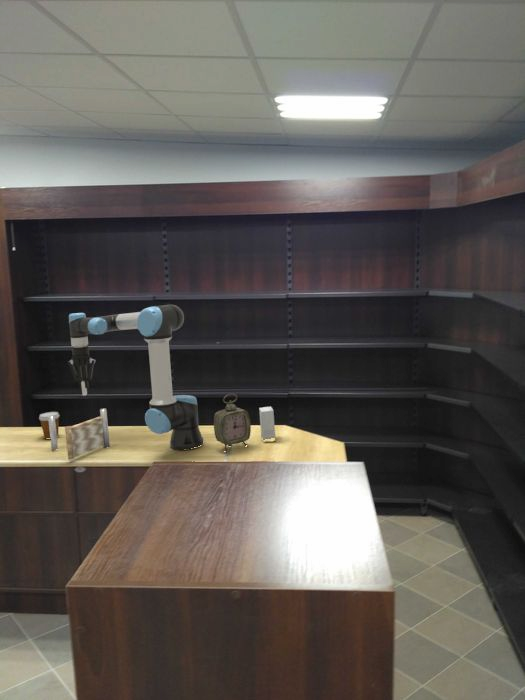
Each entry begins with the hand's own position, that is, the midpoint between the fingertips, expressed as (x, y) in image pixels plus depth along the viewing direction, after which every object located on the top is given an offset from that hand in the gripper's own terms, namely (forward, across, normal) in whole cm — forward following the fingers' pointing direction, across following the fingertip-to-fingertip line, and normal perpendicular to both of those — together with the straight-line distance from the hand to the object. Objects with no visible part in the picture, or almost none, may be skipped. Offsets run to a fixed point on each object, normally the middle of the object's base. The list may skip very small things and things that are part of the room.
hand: (84, 394), depth 259 cm
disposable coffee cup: (+23, +20, -8) cm, 31 cm away
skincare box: (+23, -86, +15) cm, 90 cm away
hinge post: (+22, -11, +12) cm, 28 cm away
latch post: (+22, +12, +12) cm, 28 cm away
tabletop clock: (+23, -69, +25) cm, 77 cm away
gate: (+21, -5, +22) cm, 31 cm away
